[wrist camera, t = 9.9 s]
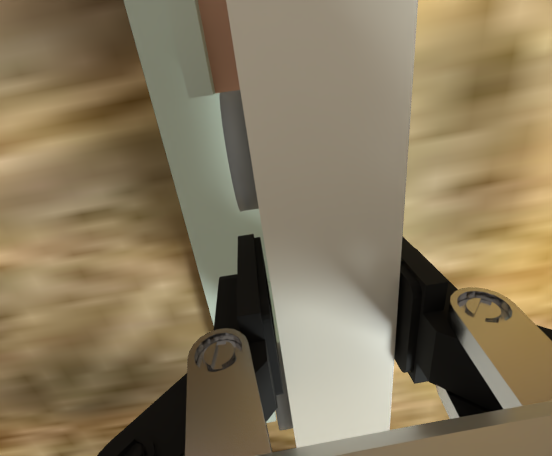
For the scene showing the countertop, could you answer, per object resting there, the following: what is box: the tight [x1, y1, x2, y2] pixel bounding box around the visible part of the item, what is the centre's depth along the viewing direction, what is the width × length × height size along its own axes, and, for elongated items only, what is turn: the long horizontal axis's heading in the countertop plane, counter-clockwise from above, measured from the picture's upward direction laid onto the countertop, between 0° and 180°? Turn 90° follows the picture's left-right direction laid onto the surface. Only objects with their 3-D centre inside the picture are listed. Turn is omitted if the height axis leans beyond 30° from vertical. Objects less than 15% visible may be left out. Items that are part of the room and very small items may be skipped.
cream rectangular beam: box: [219, 0, 418, 448], centre depth 10 cm, size 18×4×5 cm, turn 7°
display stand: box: [124, 0, 280, 423], centre depth 16 cm, size 24×12×9 cm, turn 7°
